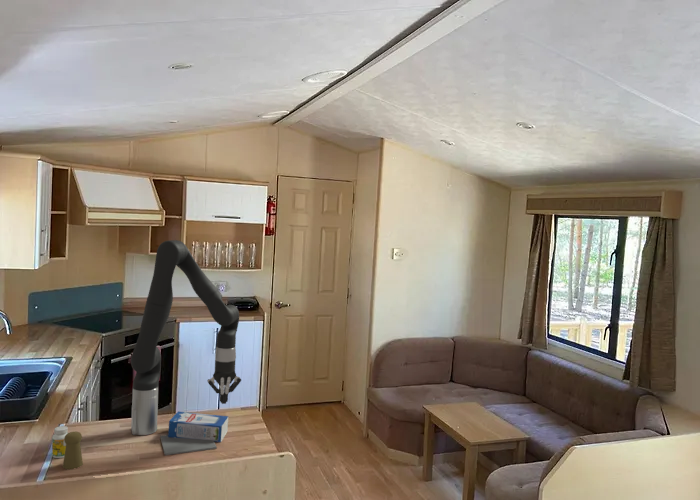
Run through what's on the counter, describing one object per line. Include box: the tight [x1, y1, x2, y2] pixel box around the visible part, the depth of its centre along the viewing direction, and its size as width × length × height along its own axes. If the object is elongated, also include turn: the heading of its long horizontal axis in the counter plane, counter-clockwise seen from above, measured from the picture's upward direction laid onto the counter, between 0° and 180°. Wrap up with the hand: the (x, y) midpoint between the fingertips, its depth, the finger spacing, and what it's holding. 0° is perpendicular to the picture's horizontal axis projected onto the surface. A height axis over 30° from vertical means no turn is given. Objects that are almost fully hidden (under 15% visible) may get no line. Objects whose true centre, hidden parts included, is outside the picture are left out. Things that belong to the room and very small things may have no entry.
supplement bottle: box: [51, 425, 69, 459], centre depth 189 cm, size 5×5×10 cm
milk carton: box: [167, 410, 229, 443], centre depth 212 cm, size 10×6×20 cm
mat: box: [159, 434, 218, 456], centre depth 205 cm, size 18×16×1 cm
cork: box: [62, 431, 84, 470], centre depth 183 cm, size 6×6×11 cm
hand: (223, 403), depth 209 cm, fingers closed
